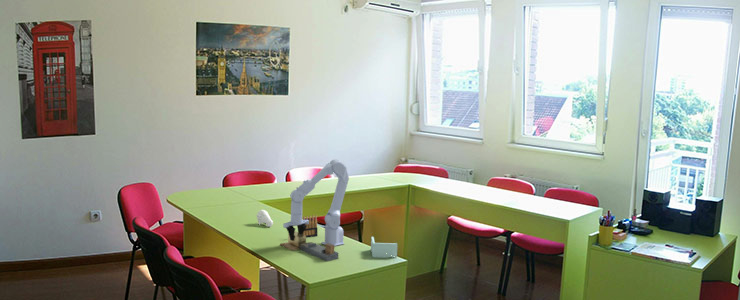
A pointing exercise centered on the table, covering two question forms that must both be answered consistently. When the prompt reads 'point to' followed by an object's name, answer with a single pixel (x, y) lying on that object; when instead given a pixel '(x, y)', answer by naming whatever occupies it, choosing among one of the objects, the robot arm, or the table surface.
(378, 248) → the right angle wall
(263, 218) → the white toy sheep
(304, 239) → the tan rectangular block
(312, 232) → the ammunition clip
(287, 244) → the walnut board
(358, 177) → the table surface
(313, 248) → the body
